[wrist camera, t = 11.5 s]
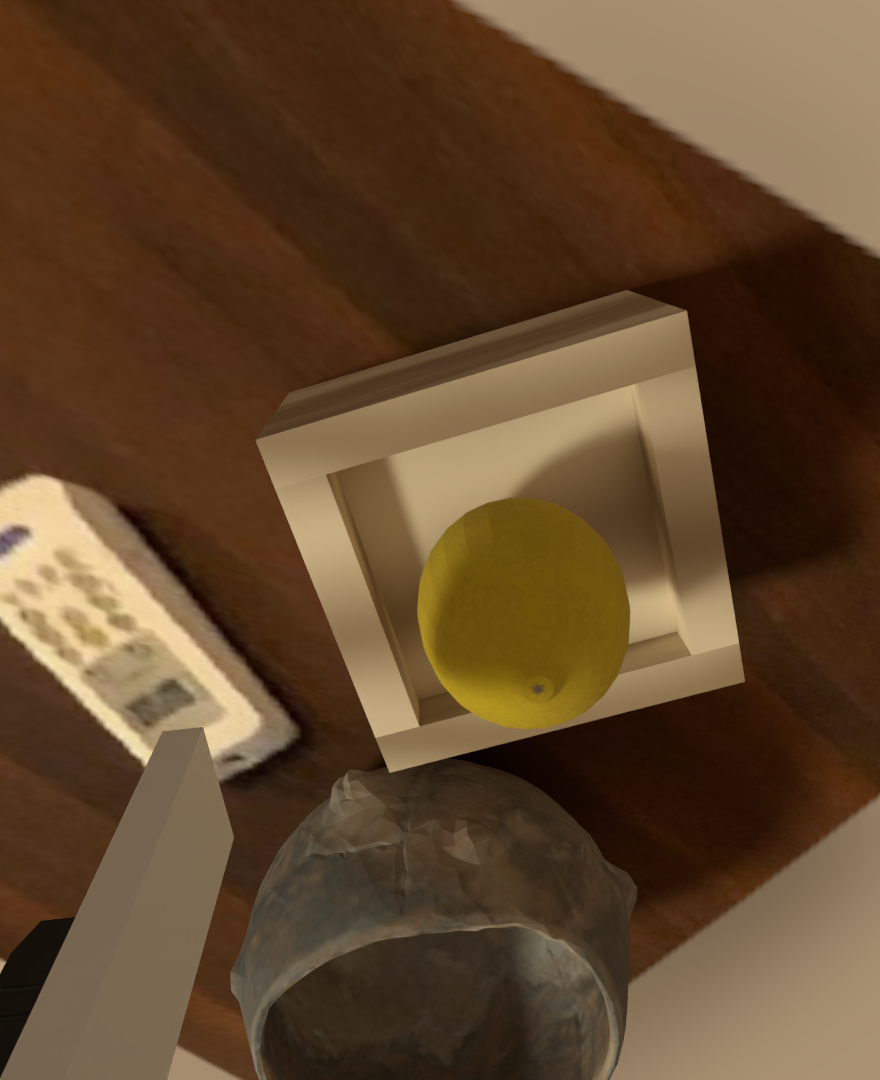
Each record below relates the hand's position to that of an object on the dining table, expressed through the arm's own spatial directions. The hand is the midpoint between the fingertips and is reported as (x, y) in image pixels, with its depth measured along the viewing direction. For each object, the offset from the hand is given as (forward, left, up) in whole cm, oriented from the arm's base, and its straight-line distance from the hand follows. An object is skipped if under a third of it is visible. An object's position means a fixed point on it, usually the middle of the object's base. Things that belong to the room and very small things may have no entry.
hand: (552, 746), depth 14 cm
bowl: (+16, -4, -15) cm, 23 cm away
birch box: (0, 0, -15) cm, 15 cm away
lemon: (0, 0, -10) cm, 10 cm away
